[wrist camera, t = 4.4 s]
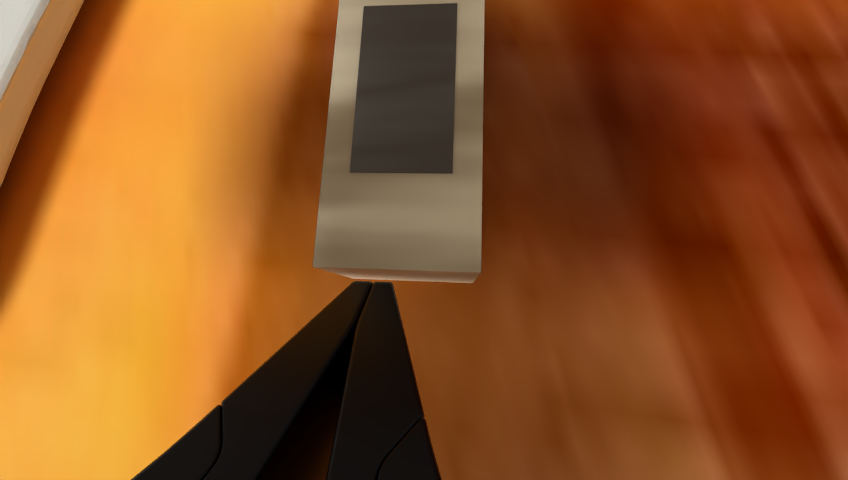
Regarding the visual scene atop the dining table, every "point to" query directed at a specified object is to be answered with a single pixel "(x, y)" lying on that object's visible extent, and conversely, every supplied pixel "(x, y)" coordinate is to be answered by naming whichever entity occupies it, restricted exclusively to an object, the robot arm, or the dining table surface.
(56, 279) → the dining table surface
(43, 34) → the square plate
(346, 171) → the metal block
